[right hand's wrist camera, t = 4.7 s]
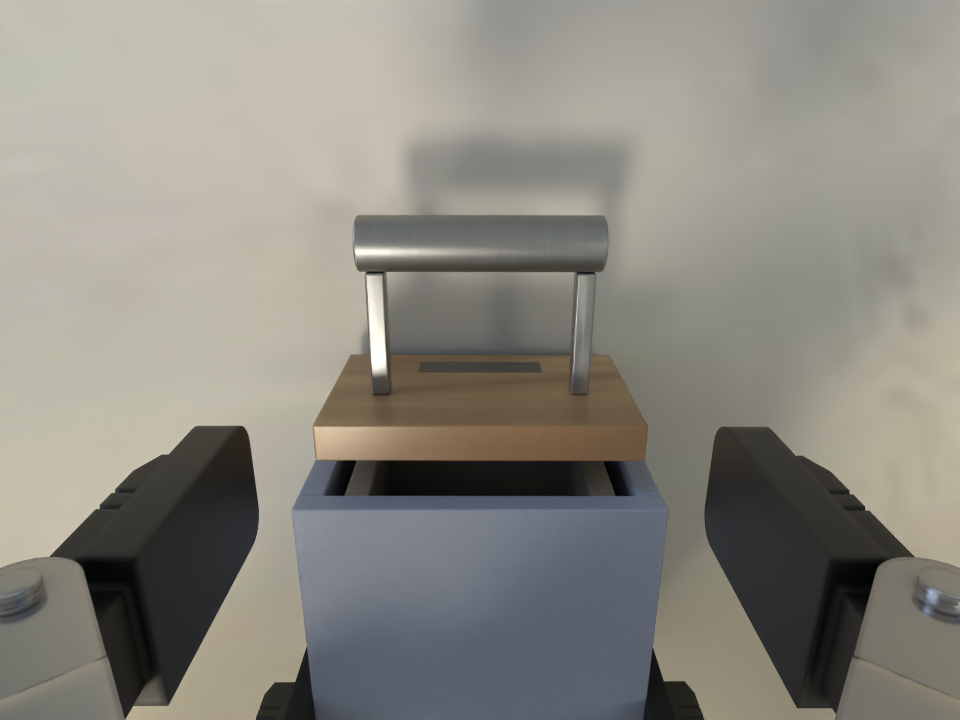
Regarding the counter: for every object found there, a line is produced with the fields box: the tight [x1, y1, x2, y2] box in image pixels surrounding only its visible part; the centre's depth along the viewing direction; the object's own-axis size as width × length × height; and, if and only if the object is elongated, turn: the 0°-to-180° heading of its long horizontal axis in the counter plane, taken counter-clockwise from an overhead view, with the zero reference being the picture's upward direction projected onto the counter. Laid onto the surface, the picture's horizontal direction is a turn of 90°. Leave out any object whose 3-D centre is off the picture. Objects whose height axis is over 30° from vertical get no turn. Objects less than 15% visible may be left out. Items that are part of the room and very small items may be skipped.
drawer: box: [313, 215, 648, 496], centre depth 23 cm, size 18×10×6 cm, turn 0°
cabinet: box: [292, 460, 668, 720], centre depth 25 cm, size 14×11×8 cm
